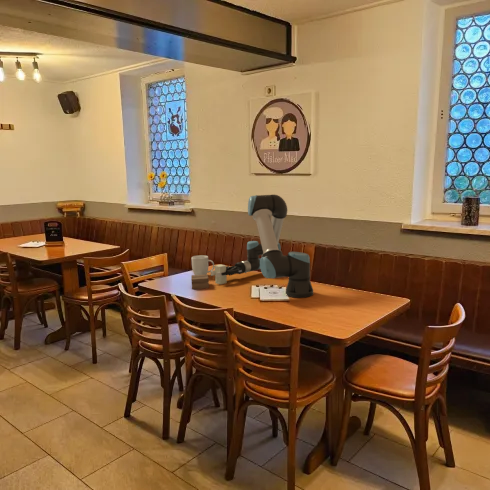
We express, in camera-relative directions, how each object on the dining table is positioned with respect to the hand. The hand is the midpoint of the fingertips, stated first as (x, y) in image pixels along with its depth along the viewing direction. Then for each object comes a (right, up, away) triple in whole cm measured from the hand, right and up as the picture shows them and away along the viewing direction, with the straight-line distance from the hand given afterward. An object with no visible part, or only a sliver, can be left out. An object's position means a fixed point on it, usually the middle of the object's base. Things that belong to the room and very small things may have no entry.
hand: (213, 274), depth 264 cm
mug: (-9, -3, +24) cm, 26 cm away
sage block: (+4, -6, +5) cm, 8 cm away
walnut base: (-8, -7, -2) cm, 11 cm away
